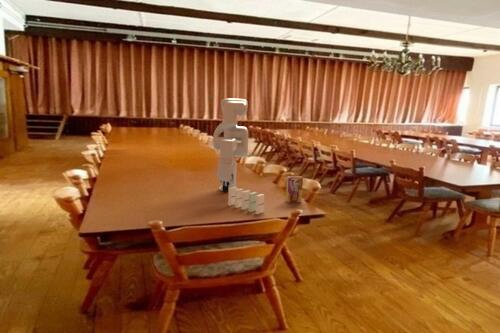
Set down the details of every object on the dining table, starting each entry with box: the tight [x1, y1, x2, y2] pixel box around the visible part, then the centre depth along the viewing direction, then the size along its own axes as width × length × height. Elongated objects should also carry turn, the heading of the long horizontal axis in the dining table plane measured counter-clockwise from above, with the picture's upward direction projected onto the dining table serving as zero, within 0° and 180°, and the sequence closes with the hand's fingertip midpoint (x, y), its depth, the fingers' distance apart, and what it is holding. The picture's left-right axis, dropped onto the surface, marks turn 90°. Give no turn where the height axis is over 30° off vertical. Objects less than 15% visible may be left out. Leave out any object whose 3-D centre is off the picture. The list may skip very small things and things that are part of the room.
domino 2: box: [234, 187, 245, 209], centre depth 193 cm, size 2×5×10 cm, turn 139°
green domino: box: [247, 191, 258, 213], centre depth 187 cm, size 2×5×10 cm, turn 140°
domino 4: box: [255, 193, 265, 215], centre depth 183 cm, size 2×5×10 cm, turn 139°
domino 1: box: [227, 186, 237, 207], centre depth 196 cm, size 2×5×10 cm, turn 140°
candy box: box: [285, 175, 304, 203], centre depth 207 cm, size 9×4×15 cm, turn 96°
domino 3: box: [240, 189, 251, 211], centre depth 190 cm, size 2×5×10 cm, turn 140°
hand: (225, 192), depth 199 cm, fingers closed
